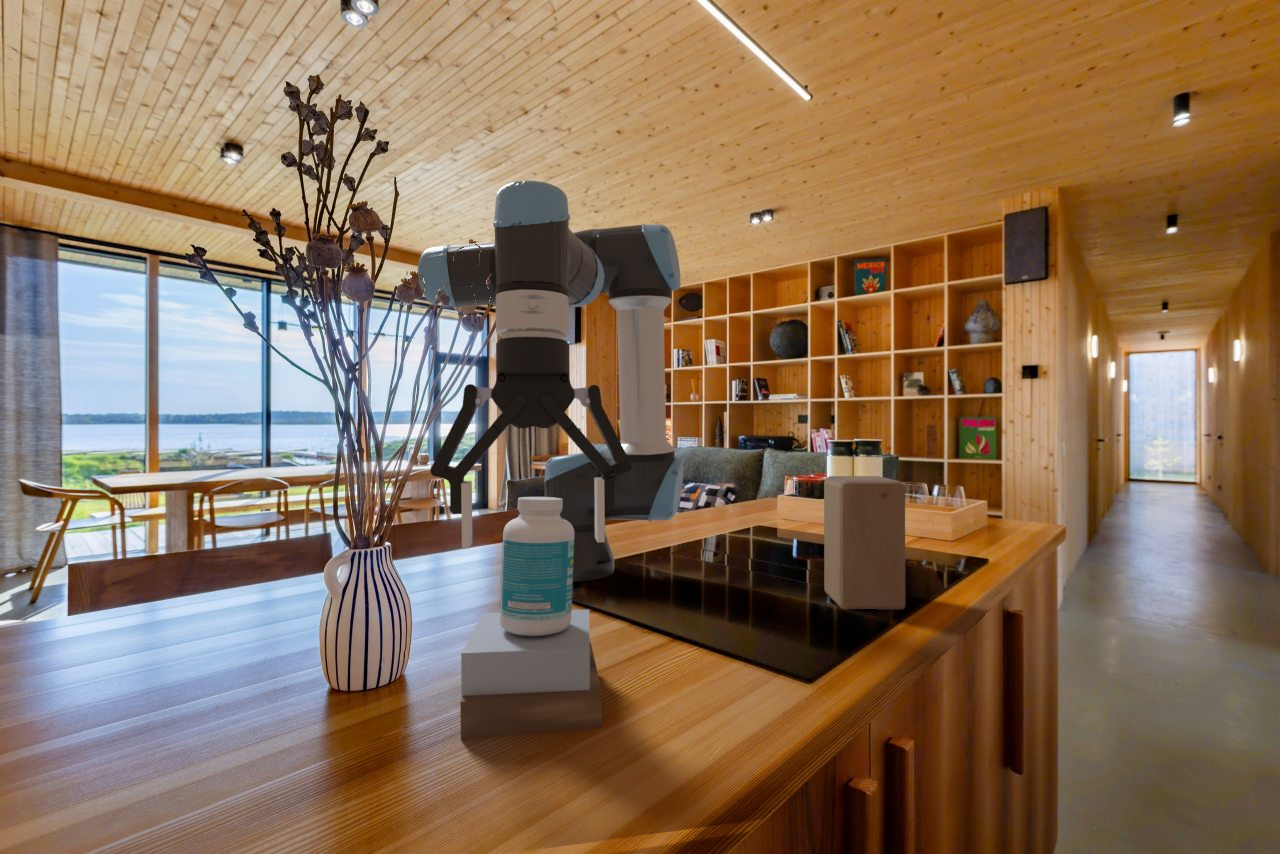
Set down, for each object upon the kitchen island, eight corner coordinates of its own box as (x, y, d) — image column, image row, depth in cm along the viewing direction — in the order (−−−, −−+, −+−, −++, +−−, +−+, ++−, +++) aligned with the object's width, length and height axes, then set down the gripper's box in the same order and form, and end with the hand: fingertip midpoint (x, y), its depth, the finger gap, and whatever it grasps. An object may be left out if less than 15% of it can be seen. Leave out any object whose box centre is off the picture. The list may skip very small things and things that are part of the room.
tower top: (483, 647, 67) (483, 612, 67) (589, 643, 68) (589, 609, 68) (461, 695, 55) (461, 653, 55) (589, 690, 56) (589, 648, 56)
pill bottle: (581, 633, 60) (586, 500, 60) (510, 642, 56) (516, 501, 57) (556, 614, 66) (561, 494, 67) (491, 621, 63) (496, 495, 64)
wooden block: (907, 613, 89) (907, 481, 89) (841, 612, 89) (841, 481, 89) (882, 593, 99) (882, 475, 99) (822, 593, 99) (822, 475, 99)
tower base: (476, 684, 67) (476, 648, 67) (590, 675, 69) (590, 641, 69) (460, 745, 54) (460, 701, 54) (601, 732, 56) (601, 690, 56)
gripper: (397, 330, 55) (400, 556, 55) (658, 336, 59) (659, 544, 60) (413, 341, 62) (416, 540, 63) (644, 345, 67) (645, 530, 67)
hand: (534, 543), depth 61 cm, fingers open, 13 cm apart
